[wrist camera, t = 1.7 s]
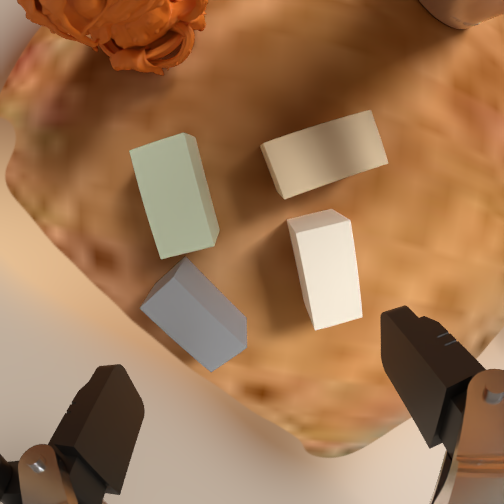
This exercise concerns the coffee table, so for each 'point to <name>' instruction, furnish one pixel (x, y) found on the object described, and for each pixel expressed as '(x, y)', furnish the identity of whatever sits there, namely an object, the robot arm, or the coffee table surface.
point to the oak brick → (324, 153)
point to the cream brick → (326, 267)
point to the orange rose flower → (125, 28)
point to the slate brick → (197, 315)
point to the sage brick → (175, 195)
